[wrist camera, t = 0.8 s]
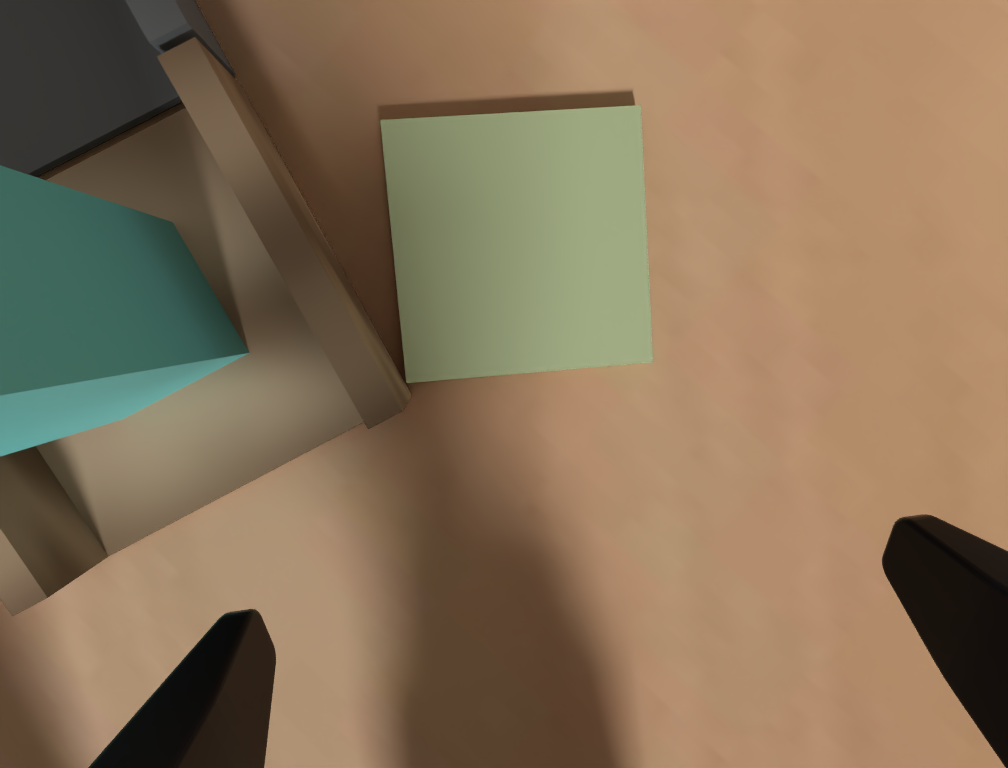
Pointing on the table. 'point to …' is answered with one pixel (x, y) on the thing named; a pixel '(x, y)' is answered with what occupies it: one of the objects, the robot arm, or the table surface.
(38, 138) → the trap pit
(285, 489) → the table surface
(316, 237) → the open channel
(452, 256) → the pad
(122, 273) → the teal block
